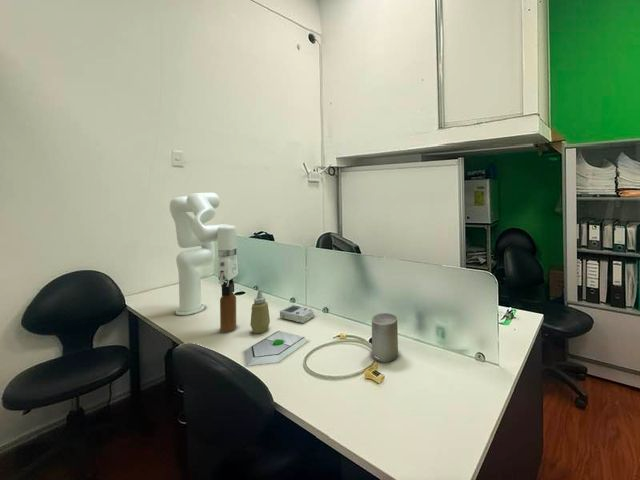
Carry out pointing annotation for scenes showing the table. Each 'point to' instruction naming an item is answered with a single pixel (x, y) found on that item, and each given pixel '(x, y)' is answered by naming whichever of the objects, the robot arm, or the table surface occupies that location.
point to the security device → (273, 348)
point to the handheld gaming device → (297, 313)
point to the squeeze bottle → (260, 314)
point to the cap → (231, 287)
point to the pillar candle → (384, 337)
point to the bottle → (228, 313)
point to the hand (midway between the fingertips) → (228, 293)
